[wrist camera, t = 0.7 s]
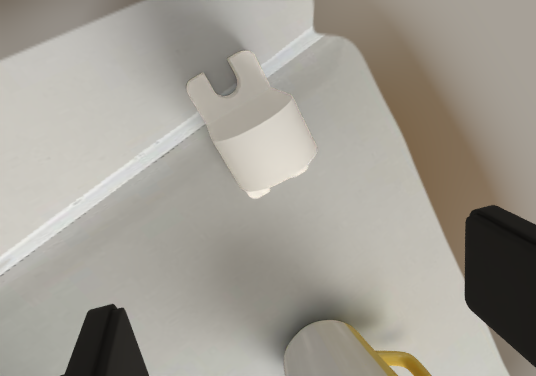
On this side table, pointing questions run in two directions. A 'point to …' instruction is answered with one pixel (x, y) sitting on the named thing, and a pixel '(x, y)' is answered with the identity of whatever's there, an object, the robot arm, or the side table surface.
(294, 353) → the mug
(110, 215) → the side table surface
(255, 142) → the cable organizer
